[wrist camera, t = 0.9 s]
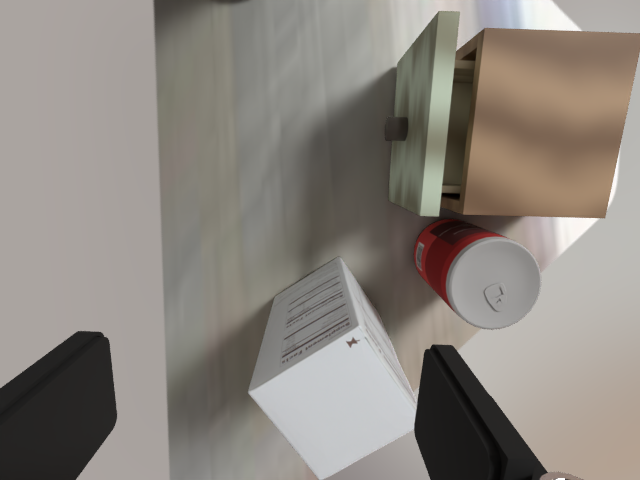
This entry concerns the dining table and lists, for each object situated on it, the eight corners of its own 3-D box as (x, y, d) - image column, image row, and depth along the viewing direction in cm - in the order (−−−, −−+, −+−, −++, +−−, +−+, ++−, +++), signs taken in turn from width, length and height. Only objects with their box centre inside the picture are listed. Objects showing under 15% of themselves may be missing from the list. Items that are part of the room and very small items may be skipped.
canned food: (437, 298, 40) (483, 347, 29) (397, 246, 38) (428, 278, 27) (493, 257, 39) (561, 293, 28) (453, 203, 37) (509, 218, 26)
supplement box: (272, 296, 39) (240, 390, 23) (339, 253, 38) (357, 319, 22) (317, 358, 41) (319, 487, 25) (383, 319, 40) (430, 426, 24)
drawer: (381, 62, 34) (414, 10, 22) (517, 66, 34) (618, 17, 23) (373, 199, 37) (398, 215, 25) (498, 203, 37) (579, 220, 26)
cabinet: (441, 63, 34) (484, 28, 25) (559, 67, 34) (643, 33, 26) (428, 202, 37) (463, 214, 28) (536, 205, 37) (605, 218, 29)
